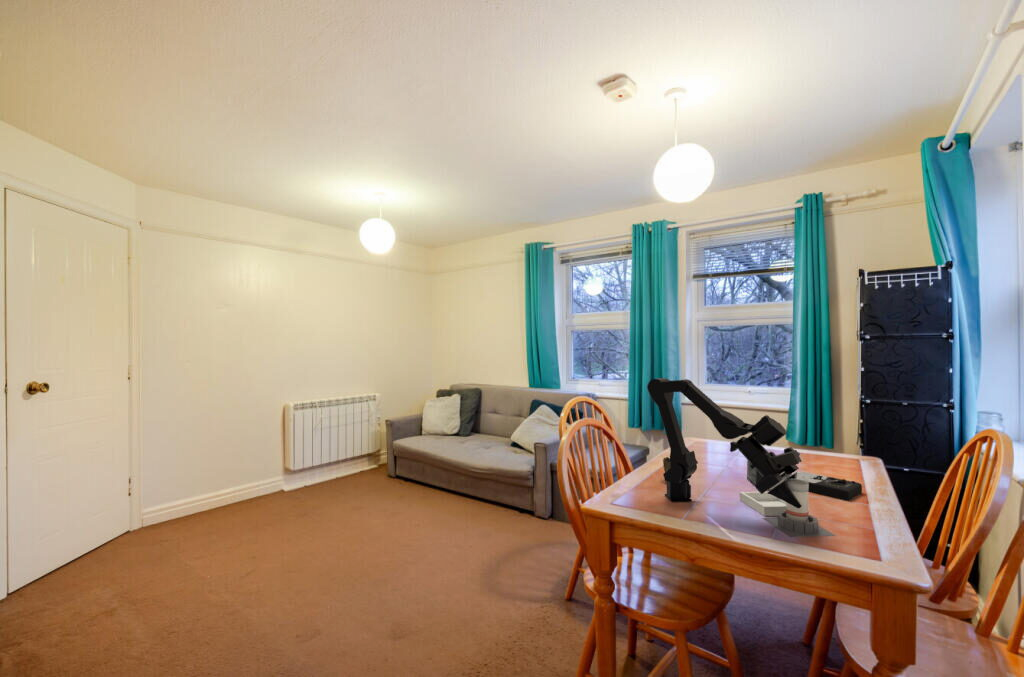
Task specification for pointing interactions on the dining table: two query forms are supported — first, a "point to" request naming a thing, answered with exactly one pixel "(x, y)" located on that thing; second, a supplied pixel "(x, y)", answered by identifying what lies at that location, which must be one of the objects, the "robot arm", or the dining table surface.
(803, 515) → the cylinder
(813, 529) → the fuse holder
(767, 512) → the tray
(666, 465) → the cup
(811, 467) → the dining table surface
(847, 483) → the multimeter
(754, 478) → the small box
